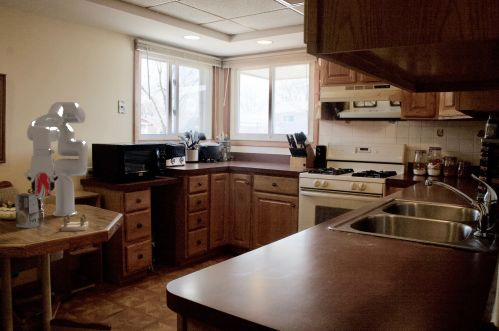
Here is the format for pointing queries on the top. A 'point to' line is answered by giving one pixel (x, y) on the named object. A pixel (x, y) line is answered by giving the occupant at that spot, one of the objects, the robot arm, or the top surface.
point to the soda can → (42, 185)
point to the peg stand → (74, 224)
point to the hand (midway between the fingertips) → (43, 190)
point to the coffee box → (27, 210)
